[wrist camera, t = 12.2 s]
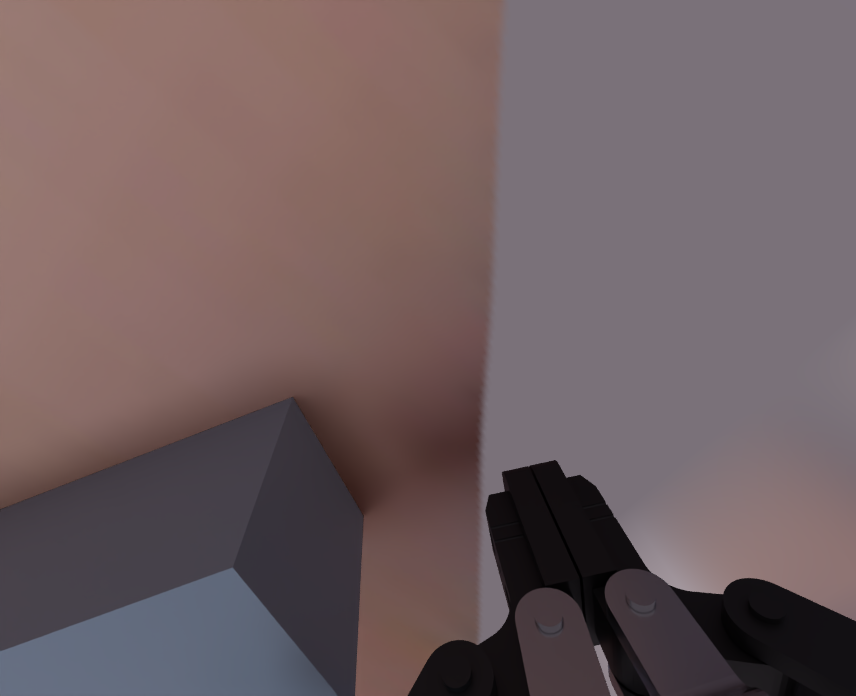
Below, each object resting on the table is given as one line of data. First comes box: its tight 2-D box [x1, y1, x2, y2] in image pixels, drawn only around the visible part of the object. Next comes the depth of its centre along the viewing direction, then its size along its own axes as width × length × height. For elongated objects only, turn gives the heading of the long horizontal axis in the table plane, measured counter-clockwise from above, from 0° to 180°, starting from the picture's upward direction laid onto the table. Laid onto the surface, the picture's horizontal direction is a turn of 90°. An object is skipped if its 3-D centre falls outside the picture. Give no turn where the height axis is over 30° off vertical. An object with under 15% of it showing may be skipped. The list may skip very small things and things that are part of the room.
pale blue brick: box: [0, 397, 364, 696], centre depth 12 cm, size 5×12×6 cm, turn 111°
